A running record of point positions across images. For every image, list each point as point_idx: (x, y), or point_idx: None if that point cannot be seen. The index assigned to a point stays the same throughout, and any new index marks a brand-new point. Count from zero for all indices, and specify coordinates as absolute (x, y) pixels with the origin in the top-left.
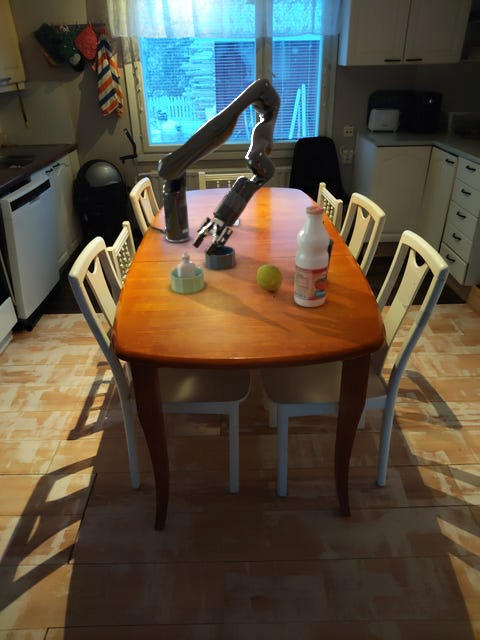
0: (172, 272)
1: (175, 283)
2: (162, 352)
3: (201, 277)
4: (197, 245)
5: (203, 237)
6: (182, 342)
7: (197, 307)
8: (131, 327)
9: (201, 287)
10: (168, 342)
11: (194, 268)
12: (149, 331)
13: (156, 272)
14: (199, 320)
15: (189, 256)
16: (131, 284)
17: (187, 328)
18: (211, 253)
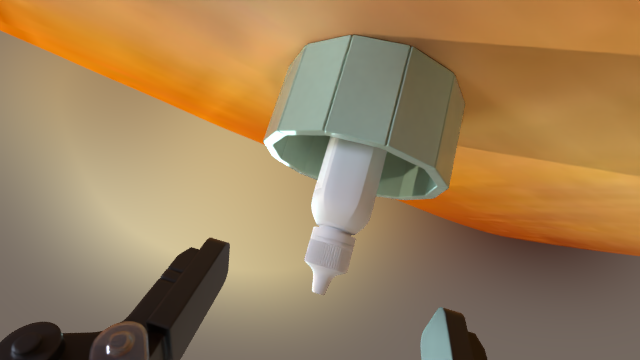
0: (305, 169)
1: None
2: (579, 246)
3: (447, 162)
4: (219, 268)
5: (155, 352)
6: (612, 240)
7: (556, 175)
8: (446, 212)
9: (460, 109)
10: (571, 237)
11: (371, 187)
12: (494, 219)
13: (151, 64)
14: (617, 209)
15: (339, 265)
16: (240, 132)
17: (593, 222)
18: (476, 349)
